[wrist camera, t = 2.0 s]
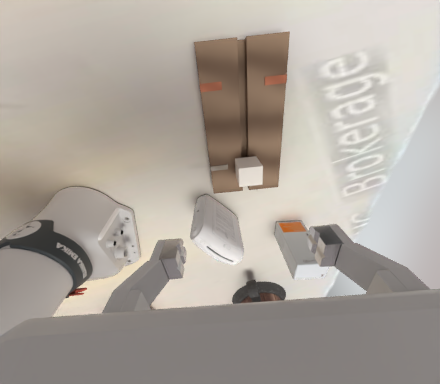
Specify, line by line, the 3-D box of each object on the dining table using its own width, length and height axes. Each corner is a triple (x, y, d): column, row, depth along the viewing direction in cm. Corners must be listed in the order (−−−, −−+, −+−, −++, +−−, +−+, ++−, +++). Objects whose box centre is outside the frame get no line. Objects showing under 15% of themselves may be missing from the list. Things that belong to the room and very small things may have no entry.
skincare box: (301, 219, 41) (332, 263, 30) (298, 233, 43) (326, 278, 33) (275, 221, 41) (297, 265, 30) (273, 235, 43) (293, 280, 32)
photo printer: (191, 203, 38) (183, 248, 27) (204, 190, 36) (202, 231, 25) (227, 227, 41) (232, 275, 30) (240, 216, 40) (250, 262, 29)
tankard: (289, 306, 59) (321, 396, 41) (239, 317, 61) (251, 407, 43) (278, 261, 48) (316, 358, 30) (218, 276, 50) (222, 375, 32)
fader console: (273, 179, 36) (278, 187, 33) (213, 186, 36) (213, 194, 33) (281, 38, 25) (290, 31, 22) (196, 47, 25) (194, 41, 22)
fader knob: (253, 169, 32) (262, 184, 27) (234, 171, 32) (239, 187, 27) (253, 153, 31) (262, 166, 25) (233, 155, 31) (238, 168, 25)
